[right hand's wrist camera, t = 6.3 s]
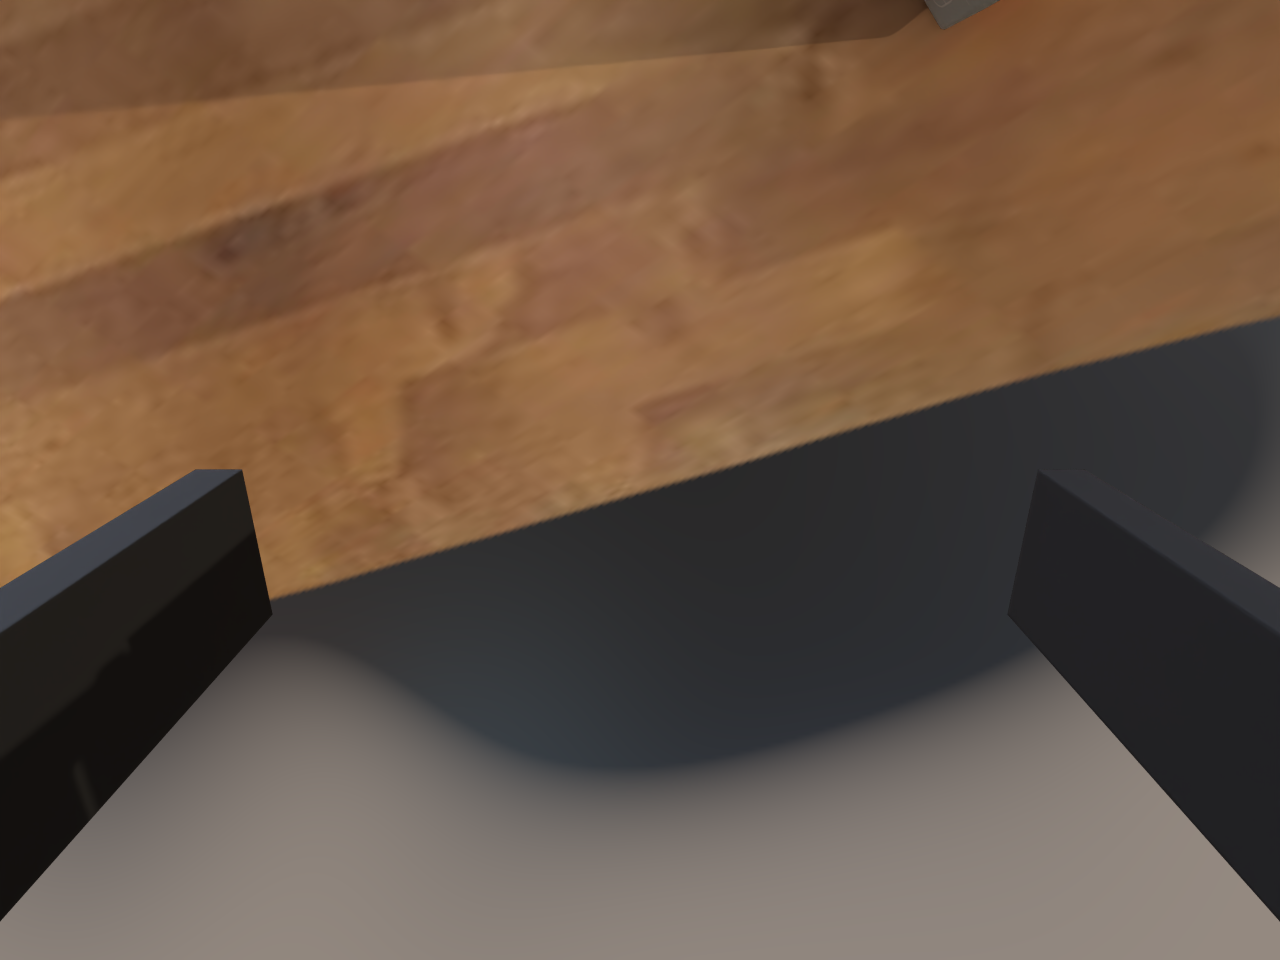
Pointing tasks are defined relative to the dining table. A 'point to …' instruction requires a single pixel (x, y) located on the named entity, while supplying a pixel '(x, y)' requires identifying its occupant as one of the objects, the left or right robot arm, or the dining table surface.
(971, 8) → the hard drive box
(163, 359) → the dining table surface
